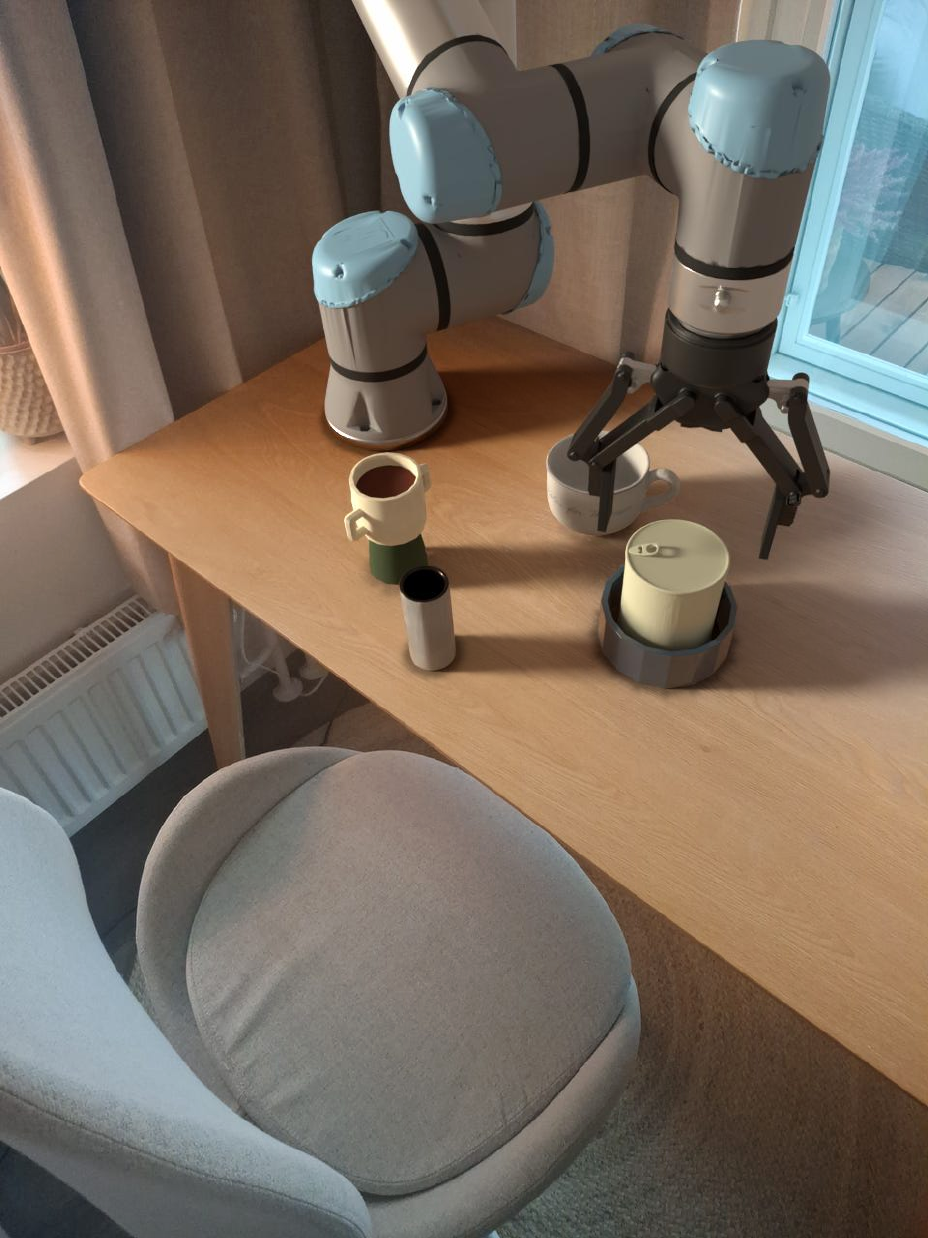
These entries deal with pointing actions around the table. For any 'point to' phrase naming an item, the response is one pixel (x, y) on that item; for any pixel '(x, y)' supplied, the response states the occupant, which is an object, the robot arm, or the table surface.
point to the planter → (428, 617)
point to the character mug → (389, 512)
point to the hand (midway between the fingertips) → (682, 534)
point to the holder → (659, 663)
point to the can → (672, 584)
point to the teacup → (583, 509)
